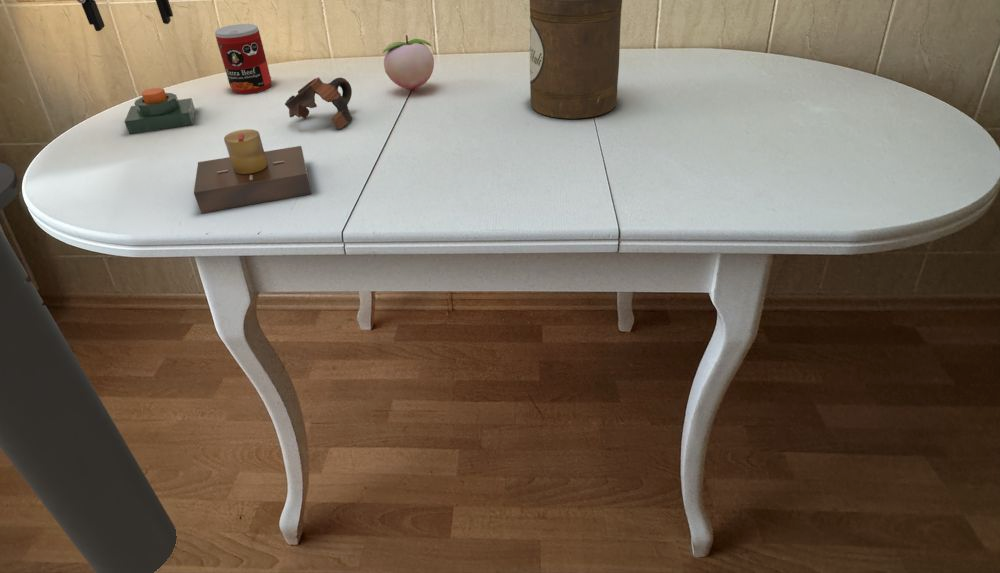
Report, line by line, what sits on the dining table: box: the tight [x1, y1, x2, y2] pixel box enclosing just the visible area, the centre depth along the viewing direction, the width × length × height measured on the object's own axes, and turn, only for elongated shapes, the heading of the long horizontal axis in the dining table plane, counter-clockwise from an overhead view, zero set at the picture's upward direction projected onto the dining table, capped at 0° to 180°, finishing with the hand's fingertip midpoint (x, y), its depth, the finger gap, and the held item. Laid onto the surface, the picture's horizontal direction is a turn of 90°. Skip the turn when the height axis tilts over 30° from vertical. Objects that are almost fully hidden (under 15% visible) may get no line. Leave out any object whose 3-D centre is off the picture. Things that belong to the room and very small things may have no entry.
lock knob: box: [223, 128, 268, 174], centre depth 82 cm, size 4×4×5 cm
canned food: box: [214, 23, 272, 95], centre depth 119 cm, size 8×8×11 cm
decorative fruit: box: [382, 34, 435, 92], centre depth 114 cm, size 9×8×10 cm
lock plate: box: [193, 145, 312, 214], centre depth 85 cm, size 14×10×3 cm
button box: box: [124, 92, 196, 135], centre depth 107 cm, size 10×8×4 cm
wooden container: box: [529, 0, 623, 120], centre depth 101 cm, size 15×15×22 cm
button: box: [140, 87, 167, 103], centre depth 106 cm, size 4×4×2 cm
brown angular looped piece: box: [284, 77, 353, 131], centre depth 104 cm, size 12×10×8 cm
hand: (134, 25), depth 97 cm, fingers open, 9 cm apart
